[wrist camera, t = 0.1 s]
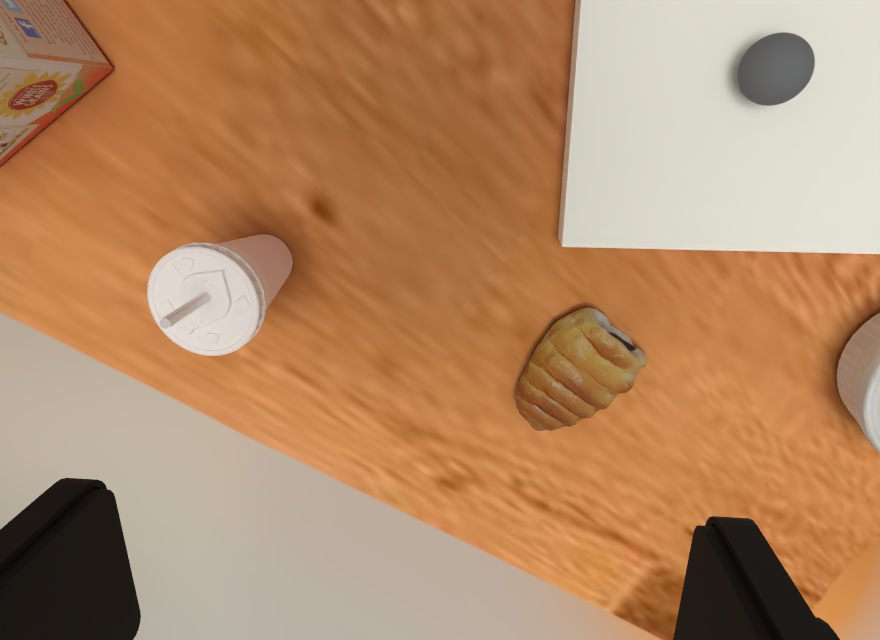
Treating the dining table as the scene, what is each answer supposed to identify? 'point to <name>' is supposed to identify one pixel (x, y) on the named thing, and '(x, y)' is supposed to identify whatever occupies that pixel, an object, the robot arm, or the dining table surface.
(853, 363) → the ramekin
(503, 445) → the dining table surface
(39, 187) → the dining table surface
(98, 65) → the cracker box
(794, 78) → the ball
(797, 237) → the board
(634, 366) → the pastry
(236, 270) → the smoothie
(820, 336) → the dining table surface
